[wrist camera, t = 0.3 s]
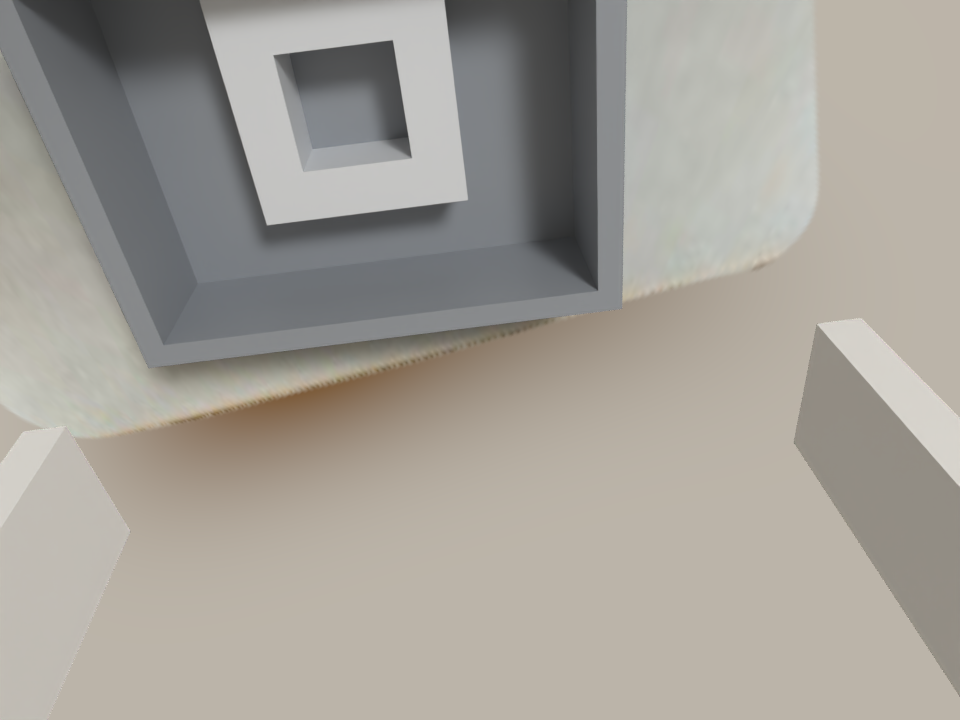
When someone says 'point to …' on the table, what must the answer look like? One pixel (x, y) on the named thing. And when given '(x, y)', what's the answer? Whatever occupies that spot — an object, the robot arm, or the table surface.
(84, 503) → the robot arm
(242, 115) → the crate
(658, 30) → the table surface
